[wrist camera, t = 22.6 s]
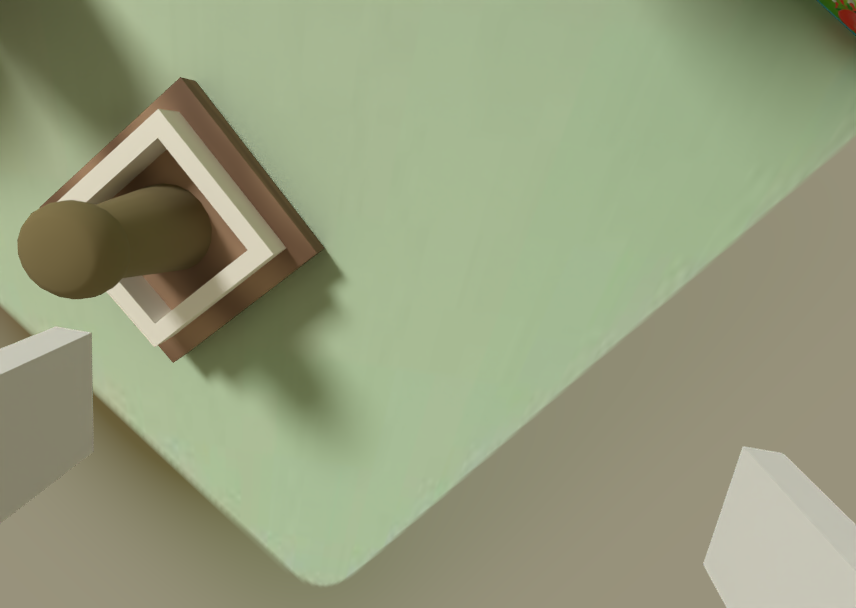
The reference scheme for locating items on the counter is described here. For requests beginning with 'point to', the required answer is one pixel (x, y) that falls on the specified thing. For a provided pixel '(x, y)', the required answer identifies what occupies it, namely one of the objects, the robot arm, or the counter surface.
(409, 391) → the counter surface
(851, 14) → the printed cardboard box
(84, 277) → the cork
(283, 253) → the walnut base
